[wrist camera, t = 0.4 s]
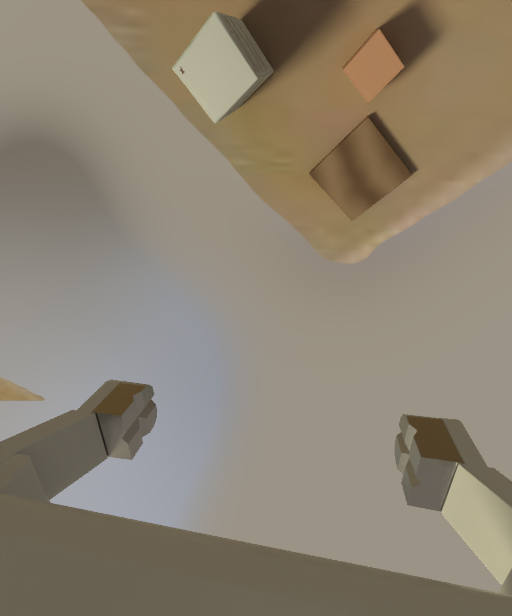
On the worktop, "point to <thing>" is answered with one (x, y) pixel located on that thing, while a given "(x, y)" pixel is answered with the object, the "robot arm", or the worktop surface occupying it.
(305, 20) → the worktop surface
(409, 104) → the worktop surface
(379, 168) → the walnut board
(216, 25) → the supplement box
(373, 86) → the terracotta cube
